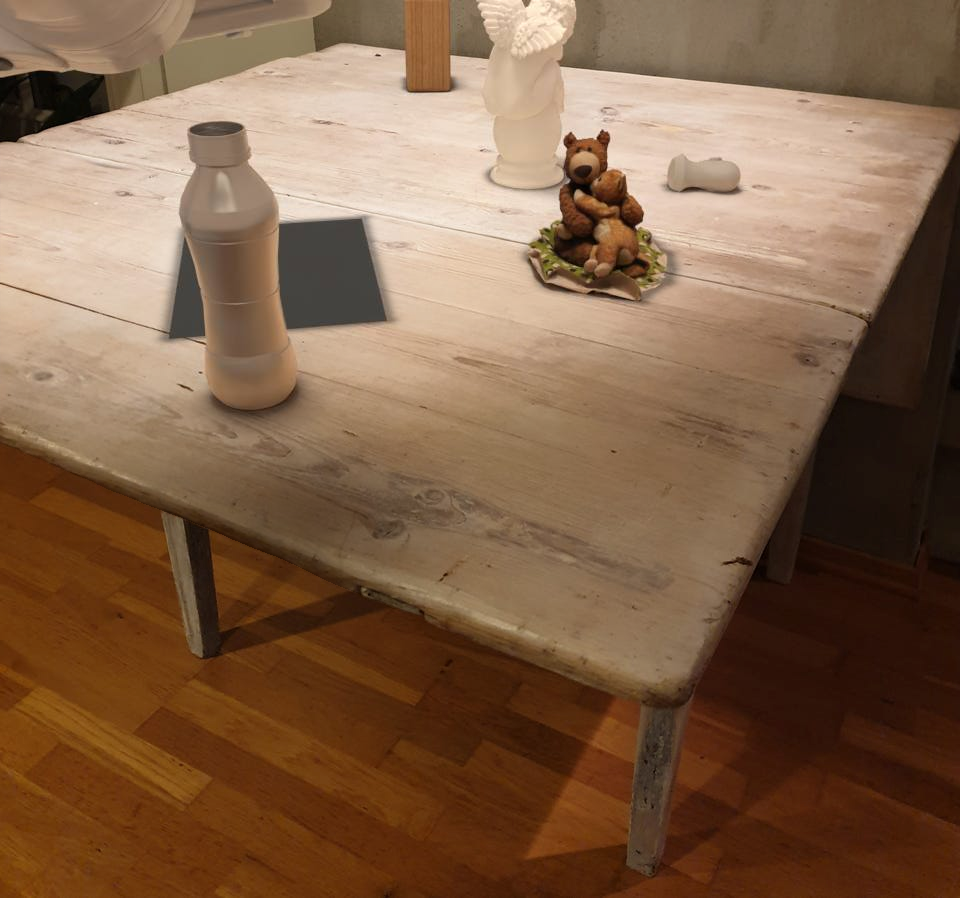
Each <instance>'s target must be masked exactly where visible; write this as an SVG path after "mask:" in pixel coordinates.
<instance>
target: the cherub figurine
mask: <svg viewBox="0 0 960 898" xmlns="http://www.w3.org/2000/svg"><path fill="white" fill-rule="evenodd" d="M475 2H477V3H478V4H477V9H478V10H479V11H480V16H481V18H482V19H484V21H483V26H484V28H485V32H486V33H487V34H488V38H489V40H490V41H492V43H493V44H494V45H493V47H492V49H491V51H490V54H489V58H488V63H487V73H486V77H485V80H484V82H483V86H482V89H481V94H482V98H483V104H484V109H485V110H486V112H487V113H488V114H490V115H491V116H495V117H494V120H493V126H492V127H493V128H492V135H493V142H494V145H495V147H496V150H497V152H498V155H497V157H496V163H497V166H495V167H494V168H492V170H491V172H490V179H491V180H492V181H493V182H494V183H496V184H498V185H500V186H503V187H508V188H514V189H522V190H536V189H545V188H549V187H553V186H555V185H557V184H559V183H561V182H562V180H563V179H564V177H565V173H564V172H565V171H564V169H563V168H562V167H561V166H559V165H558V164H557V163H558V161H559V157H558V155H557V154H556V152H557V150H558V147H559V145H560V142H561V139H562V132H563V130H562V129H563V125H562V117H561V114H563V113H564V111H565V104H564V103H565V102H564V100H565V99H564V98H565V83H564V79H563V77H562V69H561V66H560V63H559V62H558V61H561V60H562V58H563V56H564V45H566V43H568V40H569V39H570V38H571V36H572V35H573V33H574V29H575V23H576V21H577V7H576V1H575V0H530V2H529V4H528V6H526V5H525V3H524V1H523V0H475Z"/></svg>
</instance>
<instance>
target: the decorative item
mask: <svg viewBox="0 0 960 898" xmlns="http://www.w3.org/2000/svg"><path fill="white" fill-rule="evenodd" d="M402 3H403V24H404V27H403V28H404V30H403V31H404V56H405V57H404V58H405V75H406V76H405V82H406V85H405V87H406V90H407V91H409V92H411V93H412V92H415V93H416V92H418V93H419V92H448V91H450V90H451V87H452V85H451V84H452V83H451V82H452V80H451V79H452V77H451V75H452V74H451V0H403V2H402Z"/></svg>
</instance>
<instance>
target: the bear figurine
mask: <svg viewBox="0 0 960 898" xmlns="http://www.w3.org/2000/svg"><path fill="white" fill-rule="evenodd" d="M610 142H611V134H610V132H609V131H608V130H607V131H605V130H604V129H603V128H602V129H601V130H600V131H599V133H598V135H597V136H596V139H595V138H594V137H587V138H581V139H580V138H579V139H577V137H576V136H575V134H574V133H573V132H572V131H570V132H569V133H567V134H565V135H564V138H563V142H562V143H563V146H564V147H565V148H566V151H565V158H564V160H563V161H564V162H563V168H562V169H563V171H564V172H565V176H566V178H568V179H569V182H567V183H564V184H563V185H562V187H561V188H560V189H559V193H558V201H559V211H560V212H561V217H562V218H560V219H555V220H554V221H552V223H551V224H550V228H549V227H543V228H542V229H541V228H538V231H539V234H540V236H538V237H534V238H532V239H531V242H529V243H528V246H529V249H528V250H527V252H526V256H527V257H528V258H529V259H530V261H531V264H532V266H533V267H534V269H535V270H536V272H537V273H538V274H539V276H540V278H541V279H542V280H543V282H544V283H545V284H553V285H557V286H559V287H562V288H565V289H567V290H571V291H574V292H576V293H582V294H588V293H590V292H592V291H593V293H595V294H598V293H599V294H600V293H604V294H608V295H612V296H617V297H621V298H625V299H627V300H628V299H629V300H632V301H635V302H639V301H640V300H642V299H641V298H642V297H641V294H642V292H645V291H649V290H651V289H656V288H658V287H659V286H660V285H662V283H661V281H662V279H665V278H666V276H665V274H666V272H665V271H666V270H668V268H667V266H668V265H667V264H668V260H669V259H668V255H667V253H665V252H663V251H661V250H660V249H659V247H658V246H657V245H656V243H655V241H654V240H652V237H653V234H652V232H651V231H650V230H648V228H645V227H642V226H639V227H638V228H637V226H638V225H640V224H642V223H643V222H644V216H645V211H644V210H643V207H642V205H641V204H639V202H638V201H637V200H636V198H635V197H634V195H630V194H629V192H628V183H627V175H626V173H624V172H622V171H621V170H620V169H615V168H612V169H609V170H608V168H609V164H608V163H609V162H608V158H609V157H608V148H609V144H610ZM657 277H659V278H661V279H659V278H657ZM654 282H655V284H652V283H654Z"/></svg>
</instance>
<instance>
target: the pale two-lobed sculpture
mask: <svg viewBox="0 0 960 898" xmlns="http://www.w3.org/2000/svg"><path fill="white" fill-rule="evenodd" d="M741 176H742V175H741V170H740V168H739V166H738V165H737V164H736V163H734V162H733V161H729V160H723V158H722V156H713V157H710V158H708V159H704V160H701V161H699V162H695V161H691V160H690V159H689V158H687V157H686V156H685V154H683V153H680V154H678V155H677V156H674V157H673V158H672V159H671V160H670V162H669V165H668V168H667V179H666V180H667V185H668V188H669V189H670V190H672V191H674V192H678V193H681V192H682V191H684V190H685V189H688V188H697V189H700V190H705V191H709V192H719V193H729V192H731V191H733V190H735V189H736V188H737V186H738V185H739V183H740V181H741Z"/></svg>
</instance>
